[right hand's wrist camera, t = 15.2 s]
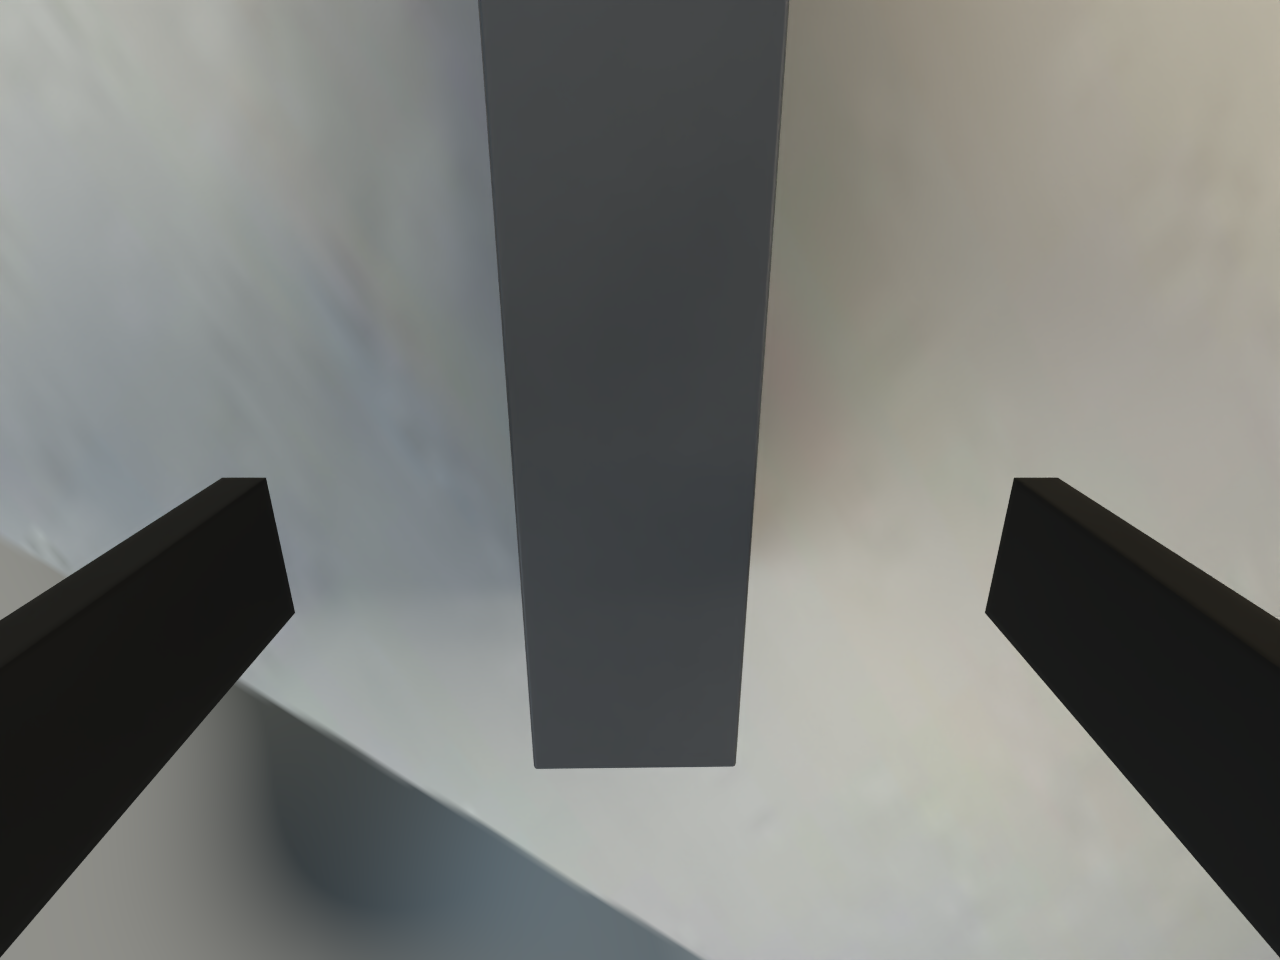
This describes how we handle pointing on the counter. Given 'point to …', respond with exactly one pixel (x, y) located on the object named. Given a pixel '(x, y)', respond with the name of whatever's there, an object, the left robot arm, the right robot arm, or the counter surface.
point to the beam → (634, 356)
